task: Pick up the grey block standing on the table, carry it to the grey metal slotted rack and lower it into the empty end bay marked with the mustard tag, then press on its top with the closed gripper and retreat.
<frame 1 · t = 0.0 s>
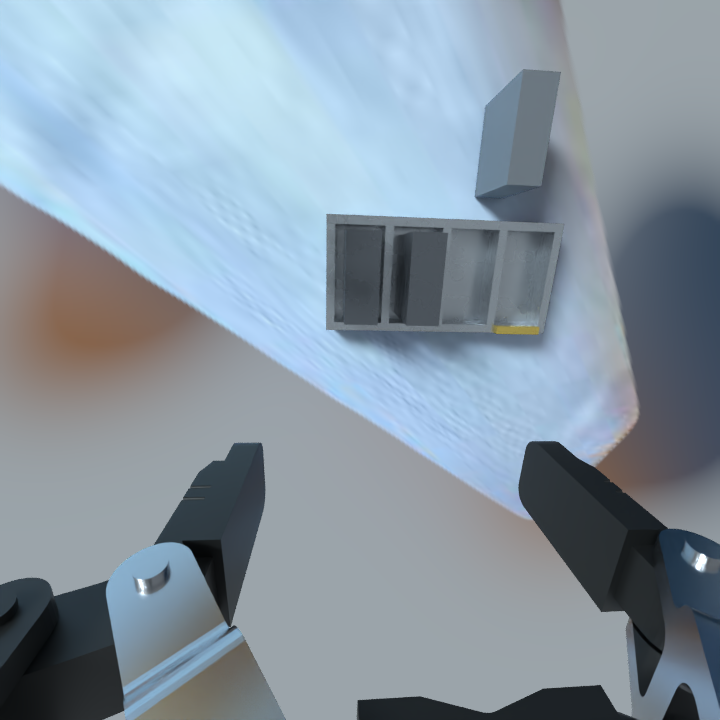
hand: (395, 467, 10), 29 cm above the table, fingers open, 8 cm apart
grey block: (494, 153, 34), on the table
rack: (434, 275, 38), on the table
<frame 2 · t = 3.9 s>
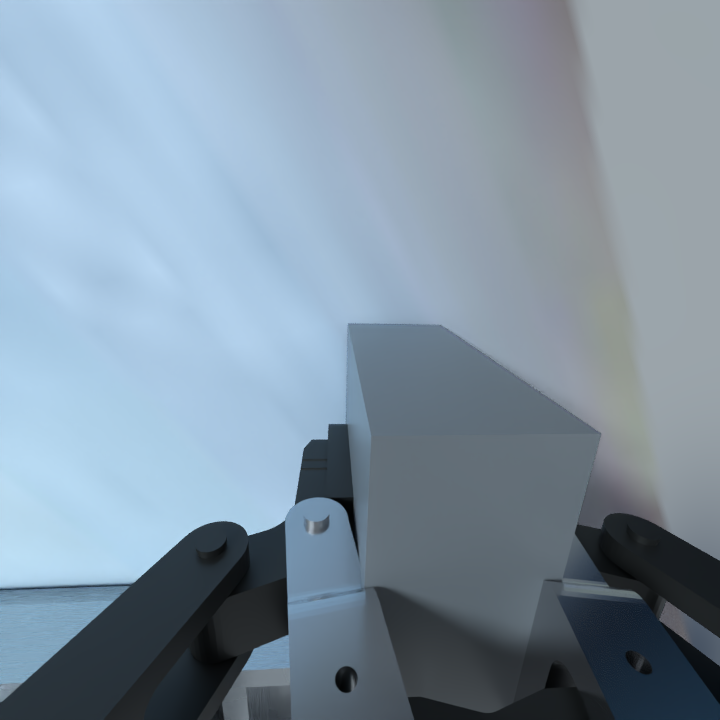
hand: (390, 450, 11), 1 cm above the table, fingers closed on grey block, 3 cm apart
grey block: (387, 435, 12), on the table, touching gripper
rack: (260, 675, 15), on the table
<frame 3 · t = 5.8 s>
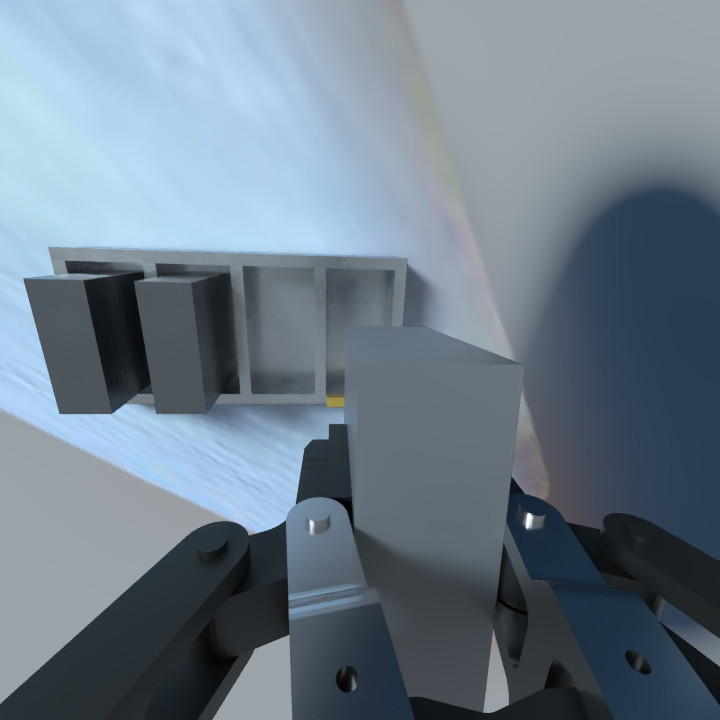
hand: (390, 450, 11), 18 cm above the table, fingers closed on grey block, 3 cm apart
grey block: (381, 426, 14), point 16 cm above the table, tilted 7°, touching gripper
rack: (251, 324, 28), on the table
when the fingers open (4 cm above the table, at t = 7.8 s): grey block stays where it is, resting on rack.
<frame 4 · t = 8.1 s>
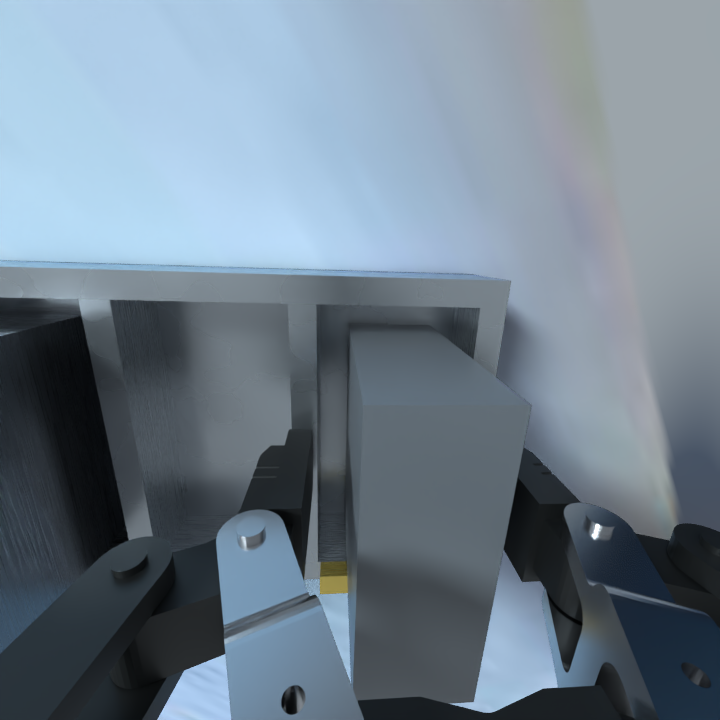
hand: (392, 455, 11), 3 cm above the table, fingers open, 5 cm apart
grey block: (383, 422, 14), point 1 cm above the table, touching rack
rack: (169, 408, 14), on the table
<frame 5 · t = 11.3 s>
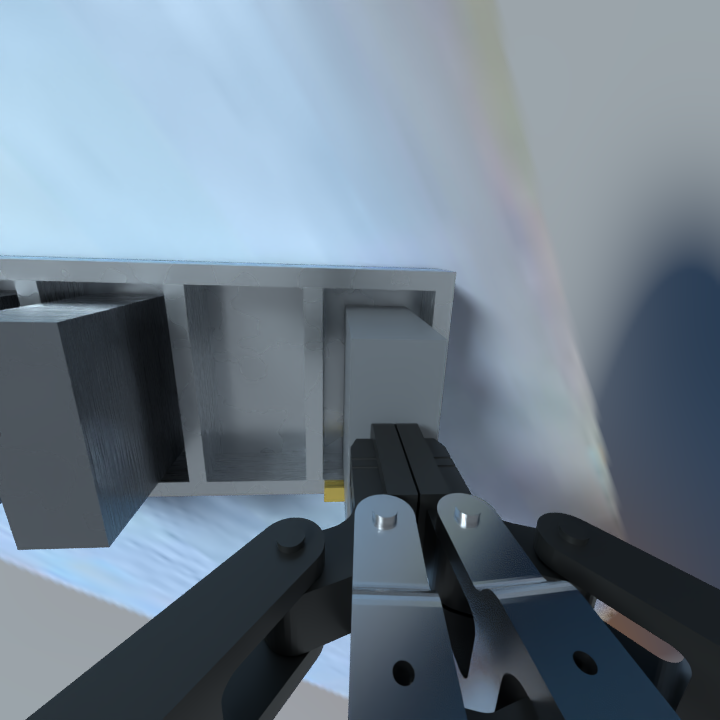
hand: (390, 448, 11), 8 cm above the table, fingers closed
grey block: (372, 380, 18), point 1 cm above the table, touching rack
rack: (210, 369, 18), on the table
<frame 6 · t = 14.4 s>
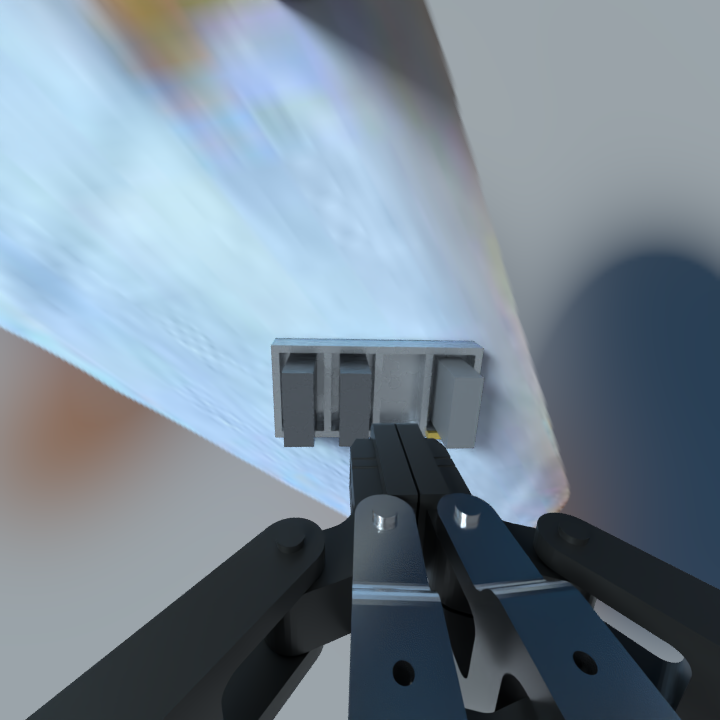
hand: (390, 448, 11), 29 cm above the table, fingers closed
grey block: (444, 388, 42), point 1 cm above the table, touching rack
rack: (374, 383, 42), on the table
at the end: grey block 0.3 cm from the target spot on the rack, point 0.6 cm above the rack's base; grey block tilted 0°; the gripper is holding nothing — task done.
